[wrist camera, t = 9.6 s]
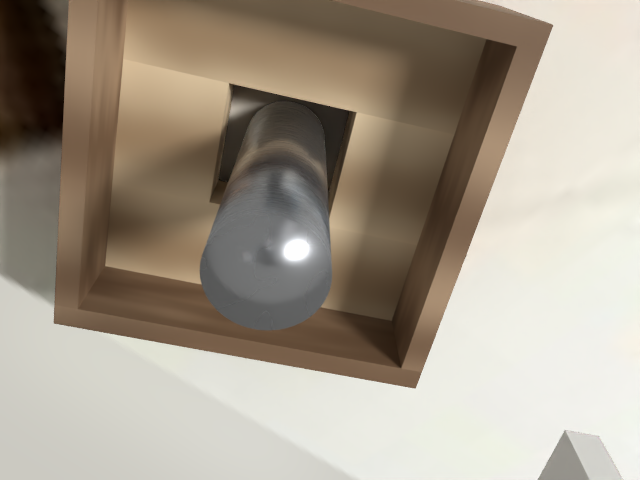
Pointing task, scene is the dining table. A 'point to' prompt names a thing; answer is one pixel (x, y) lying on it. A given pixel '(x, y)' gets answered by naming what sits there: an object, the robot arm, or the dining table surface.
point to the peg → (272, 224)
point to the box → (348, 179)
